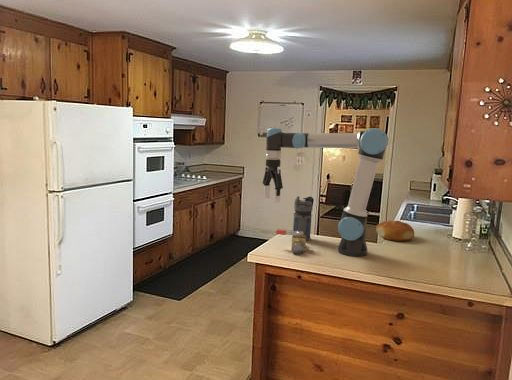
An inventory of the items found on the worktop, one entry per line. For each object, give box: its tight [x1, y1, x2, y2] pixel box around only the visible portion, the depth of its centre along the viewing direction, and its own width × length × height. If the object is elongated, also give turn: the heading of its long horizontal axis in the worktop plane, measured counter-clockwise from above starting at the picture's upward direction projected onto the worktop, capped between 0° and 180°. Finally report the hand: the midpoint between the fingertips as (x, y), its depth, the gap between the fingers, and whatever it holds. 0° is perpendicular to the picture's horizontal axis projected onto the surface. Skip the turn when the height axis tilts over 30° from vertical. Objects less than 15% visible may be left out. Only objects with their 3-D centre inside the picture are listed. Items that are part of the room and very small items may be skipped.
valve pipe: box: [290, 235, 307, 255], centre depth 218 cm, size 18×7×8 cm, turn 171°
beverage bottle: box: [292, 196, 315, 241], centre depth 239 cm, size 10×13×25 cm
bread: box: [375, 220, 415, 242], centre depth 254 cm, size 23×23×10 cm
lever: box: [275, 228, 303, 236], centre depth 218 cm, size 14×4×2 cm, turn 81°
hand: (271, 200), depth 215 cm, fingers open, 13 cm apart
